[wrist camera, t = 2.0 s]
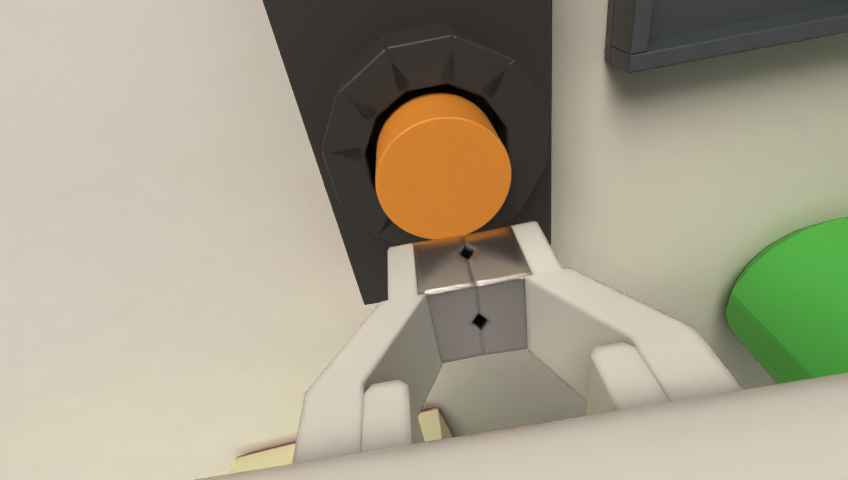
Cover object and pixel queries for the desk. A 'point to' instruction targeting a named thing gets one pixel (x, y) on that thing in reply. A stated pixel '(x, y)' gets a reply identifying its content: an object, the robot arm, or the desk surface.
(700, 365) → the robot arm
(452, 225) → the orange button cap
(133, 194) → the desk surface
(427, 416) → the gift box
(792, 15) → the soap tray
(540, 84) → the button base
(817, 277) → the bottle
